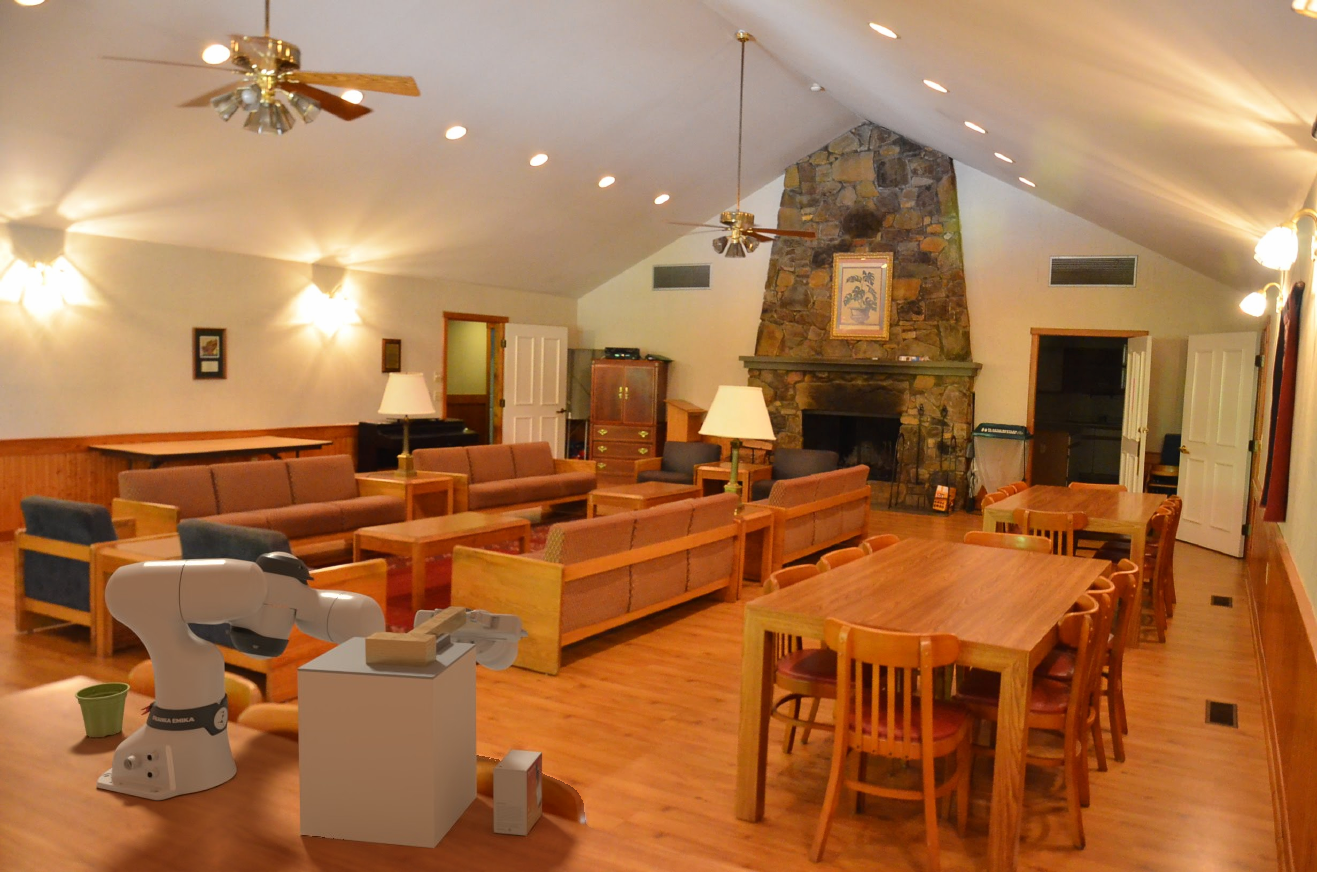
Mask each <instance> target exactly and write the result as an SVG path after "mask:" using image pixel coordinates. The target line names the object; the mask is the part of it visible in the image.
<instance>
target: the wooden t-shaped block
mask: <svg viewBox="0 0 1317 872" xmlns="http://www.w3.org/2000/svg"><path fill="white" fill-rule="evenodd" d="M446 608H447V609H446ZM446 608H444V609H445V610H444V609H443V610H444V611H442V612H440V613H439V614H437V615H435V616H434V617H432V618H431V619H429V620H427V621H426V622H424V623H423V624H421V625H419V626H418V627H416V628H415V629H414V628H413V629H411V630H410V631H408V632H407V633H406V632H389V631H385V632H376V633H374V634H372V635H370V636H369V637H367V638H365V655H366V664H380V665H397V666H413V667H427V666H429V665H430V664H431V663H433V662H434V661H435V660H436V637H437V636H439V635H440V634H442V633H447V634H451V633H453V632H454V631H456V630H457V629H459V628H460V627H462V626H463V625H464V624H466V608H467V607H466V606H452V605H451V606H448V607H446Z"/></svg>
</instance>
